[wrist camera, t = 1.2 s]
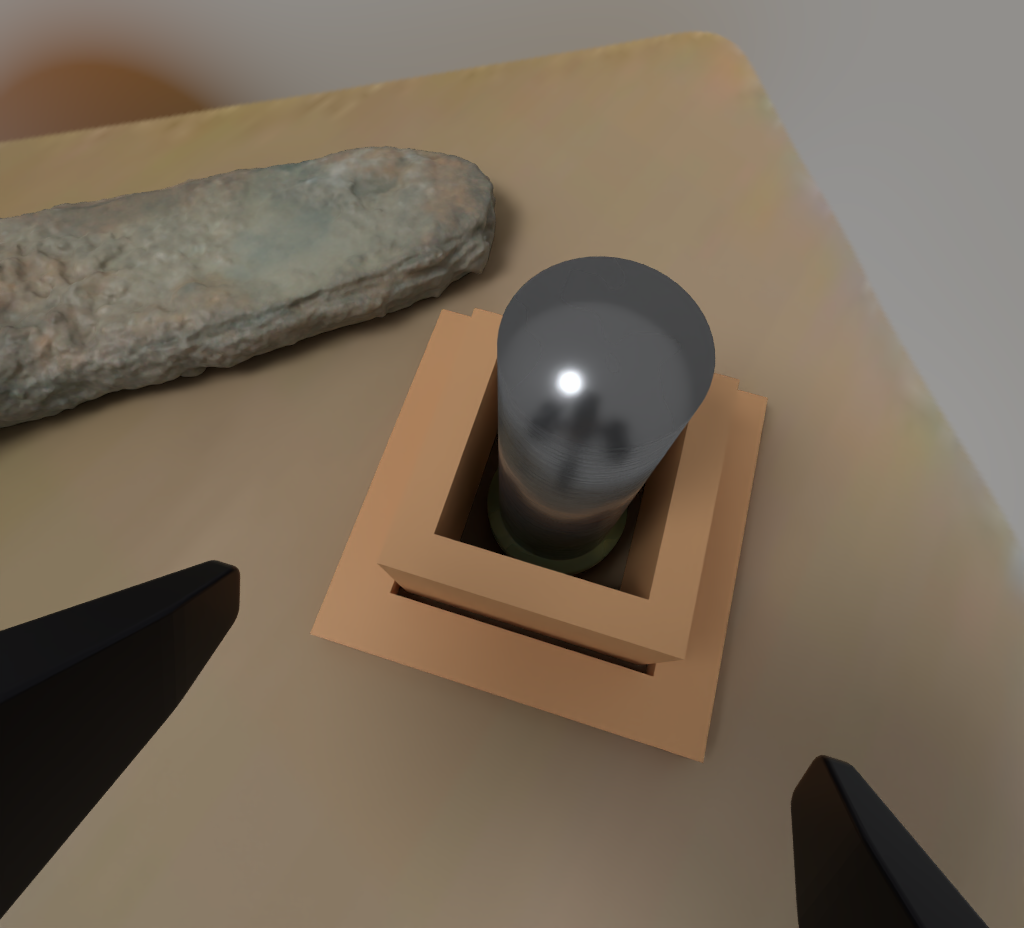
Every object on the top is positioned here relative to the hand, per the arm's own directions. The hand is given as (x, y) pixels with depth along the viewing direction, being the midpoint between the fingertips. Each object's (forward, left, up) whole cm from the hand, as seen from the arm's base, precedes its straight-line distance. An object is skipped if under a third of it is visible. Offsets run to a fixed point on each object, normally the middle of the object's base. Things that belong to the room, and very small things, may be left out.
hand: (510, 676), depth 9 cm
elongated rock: (+17, +14, -13) cm, 25 cm away
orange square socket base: (+5, -3, -12) cm, 13 cm away
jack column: (+5, -3, -12) cm, 13 cm away
